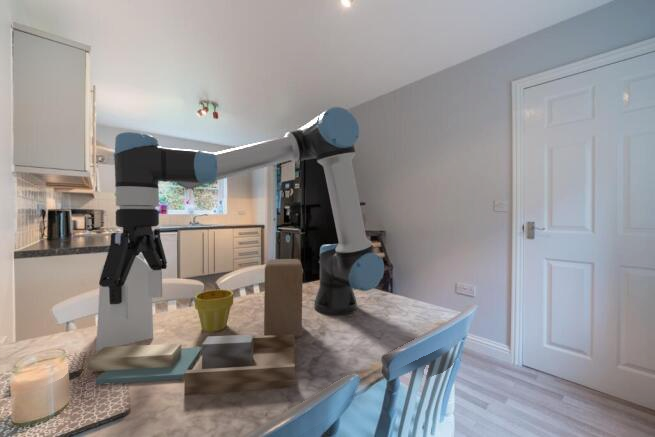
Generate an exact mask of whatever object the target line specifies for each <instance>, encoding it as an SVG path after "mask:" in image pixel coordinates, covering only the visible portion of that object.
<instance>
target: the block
mask: <svg viewBox="0 0 655 437" xmlns="http://www.w3.org/2000/svg"><path fill="white" fill-rule="evenodd" d="M303 272H304V271H303V265H302V262H301V260H300V259H298V258H285V259H284V258H272V259H268V260H266V263H265V267H264V294H263V296H264V306H263V307H264V308H263V309H264V311H263V312H264V313H263V314H264V316H263V319H264V320H263V325H264V326H263V336H268V335H290V334H294V339H296V338H300V337H302V333H303Z"/></svg>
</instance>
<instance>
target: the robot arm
mask: <svg viewBox="0 0 655 437" xmlns="http://www.w3.org/2000/svg"><path fill="white" fill-rule="evenodd" d="M359 135H360V128H359V124H358V121H357V119H356V117H355V115H353V113H351V112H349V111H348V110H347V109H346V108H343V107H341V106H332V107H329V108H328V109H326V110H323V111H321V112H320V113H319V114H318V115H317V116H316V117H315V118H313V119H312V120H310V121H309V122H307V123H306V124H305V125H303V126H301V127H300V128H297V129H294V130H292V131H288V132H286V133H285V134H284V136H282V137H277V138H273V139H269V140H264V141H260V142H256V143H251V144H247V145H243V146H239V147H235V148H230V149H225V150H222V151H217V152H211V151H210V152H209V151H204V150H202V149H199V150H197V149H196V150H195V149H184V148H175V147H174V148H173V147H163V146H161V145H159V142H158V140H157V138H156V137H155V136H153V135H151V134H150V135H149V134H143V133H140V132H134V131H133V132H132V131H131V132H130V131H127V132H126V131H125V132H121V133H119V134H117V135H116V136H115V140H114V142H115V144H114V153H113V157H114V158H113V159H114V180H115V182H114V183H115V185H114V187H115V193H114V196H115V206H116V207H119V209H116V210H115V225H116V227H117V228H122V232H112V233H111V234H110V245H109V249H108V251H107V255H106V259H105V261H104V264H103V265H104V268H103V271H102V274H101V273H100V274H101V278H100V277H99V287H100V286H102V287H109V296H110V297H109V302H110V321H113V320H126V319H128V285H124V283H125V281H126V278H127V276H128V274H129V271H130V269H131V266H132V264H133V262H134V259H135V257H136V256H137V255H139V254H140V252H141V253H142V254H143V256H144V258H145V260H146V261H147V263H148V265H149V267H150V268H151V270H149V271H148V292H149V298H152V299H157V298H162V297H163V270H165V269H167V264H168V262H167V258H166V254H165V250H164V246H163V243H162V239H161V230H160V229H159V228H153V227H157V226H159V224H160V217H159V216H160V212H159V210H158V209H157V207H159V206H160V198H159V197H160V196H159V193H160V192H159V182H165V183H166V182H168V183H176V184H177V185H178V186H180V187H182V188H185V189H188V190H189V189H190V190H193V189H196V188H199V187H200V186H203V185H207V184H214V183H216V182H217V181H220V180H223V179H228V178H231V177H236V176H238V175H242V174H245V173H249V172H252V171H257V170H260V169H265V168H267V167H272V166H275V165H278V164H281V163H285V162H289V161H291V162H293V163H297V162H301V161H305V160H306V161H307V160H313V159H316V162H317V163H318V164H320V165H321V166H322V168H323V171H324V175H325V181H326V185H327V191H328V195H329V202H330V206H331V210H332V216H333V221H334V225H335V230H336V236H337V240H338V243H333V244H332V243H331V244H330V243H329V244H322V245H321V246H320V248H319V287H318V288H317V293H316V296H315V299H314V310H315V311H317V312H318V313H322V314H324V315H330V316H344V315H349V314H352V313H354V312H355V311H357V307H358V306H357V305H358V304H357V299H356V295H355V292H354V290H358V291H361V292H368V291H370V290H374V289H375V287H377V286H378V285H379V284H380V282H381V279H383V277H384V274H385V263H384V260H383V258H382V257H381V256H379V254H378V253H375V250H374V245H373V242H372V241H371V240H370V239H368V238H367V235H366V230H365V225H364V223H365V222H364V219H363V213H362V209H361V203H360V197H359V193H358V186H357V182H356V176H355V171H354V167H353V166H354V165H353V161H352V160H353V159H354V157H355V155H356V149H355V143H356V142H357V141H358V138H359V137H360V136H359ZM108 277H109V278H108ZM119 278H120V279H119Z"/></svg>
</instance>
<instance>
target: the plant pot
mask: <svg viewBox="0 0 655 437" xmlns="http://www.w3.org/2000/svg"><path fill="white" fill-rule="evenodd" d="M233 305H234V292H233V291H232V290H229V289H221V288H220V289H218V288H217V289H210V290H206V291H205V290H204V291H201V292H199V293H197V294H196V295H195V296H194V309H195V310H196V311H197V314H198V317H199V322H200V328H201V330H202V331H203V332H206V333H213V332H214V333H215V332H219V331H222V330H224V329H225V328H226V327H227V325H228V321H229V316H230V311H231V307H232V306H233Z"/></svg>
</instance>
